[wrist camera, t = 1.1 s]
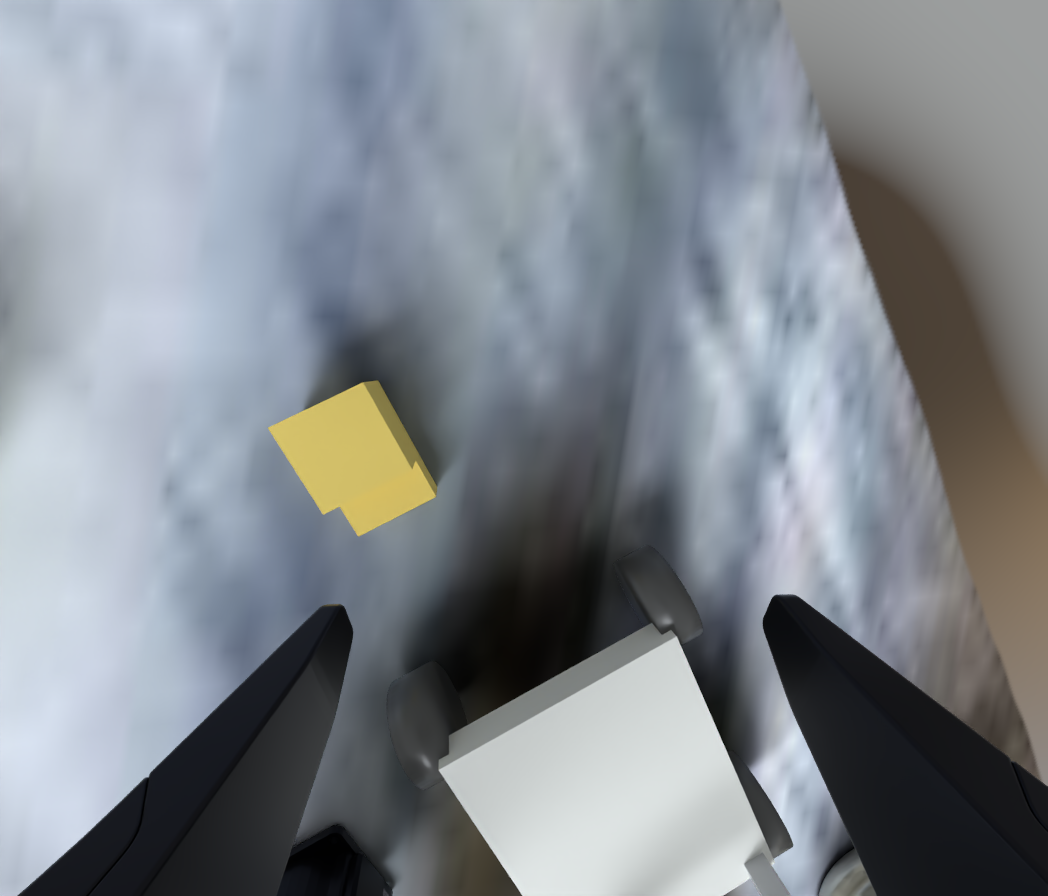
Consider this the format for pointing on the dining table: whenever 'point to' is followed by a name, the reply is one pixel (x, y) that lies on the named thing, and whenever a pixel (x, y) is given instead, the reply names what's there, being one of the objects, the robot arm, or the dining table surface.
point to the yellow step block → (356, 457)
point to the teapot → (847, 878)
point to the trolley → (602, 765)
